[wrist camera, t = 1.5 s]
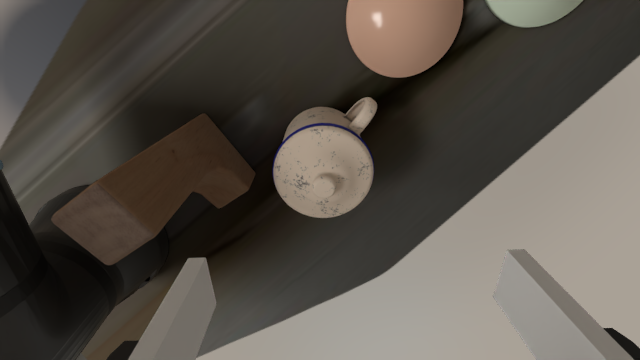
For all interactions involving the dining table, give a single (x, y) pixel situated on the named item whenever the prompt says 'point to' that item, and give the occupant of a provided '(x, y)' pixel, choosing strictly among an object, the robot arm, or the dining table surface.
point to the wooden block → (154, 190)
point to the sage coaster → (530, 11)
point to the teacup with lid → (325, 160)
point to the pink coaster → (402, 33)
